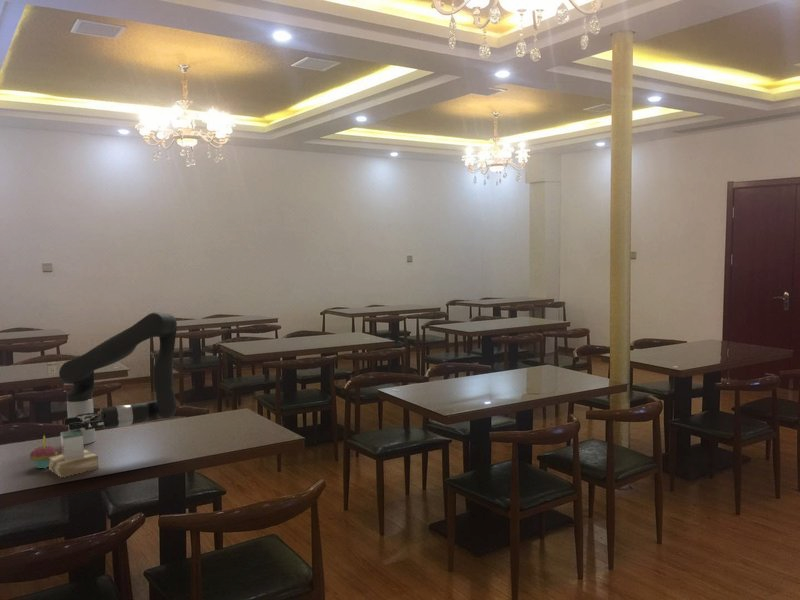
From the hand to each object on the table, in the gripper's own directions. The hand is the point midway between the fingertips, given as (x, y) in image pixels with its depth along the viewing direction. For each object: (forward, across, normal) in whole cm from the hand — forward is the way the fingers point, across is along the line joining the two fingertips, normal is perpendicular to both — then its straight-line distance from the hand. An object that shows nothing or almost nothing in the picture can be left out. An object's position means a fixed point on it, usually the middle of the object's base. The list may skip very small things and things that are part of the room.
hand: (66, 424), depth 221 cm
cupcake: (+6, -10, +16) cm, 20 cm away
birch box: (-1, 0, +16) cm, 17 cm away
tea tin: (-1, 0, +12) cm, 12 cm away
